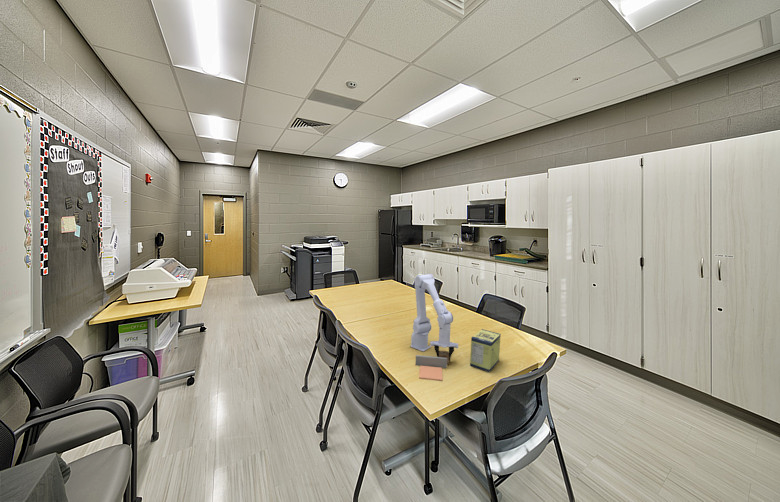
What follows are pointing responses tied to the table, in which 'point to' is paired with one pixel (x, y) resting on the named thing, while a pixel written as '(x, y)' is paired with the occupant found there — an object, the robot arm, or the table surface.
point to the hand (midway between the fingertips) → (443, 359)
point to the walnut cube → (444, 355)
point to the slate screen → (431, 361)
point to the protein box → (485, 350)
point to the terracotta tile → (430, 373)
